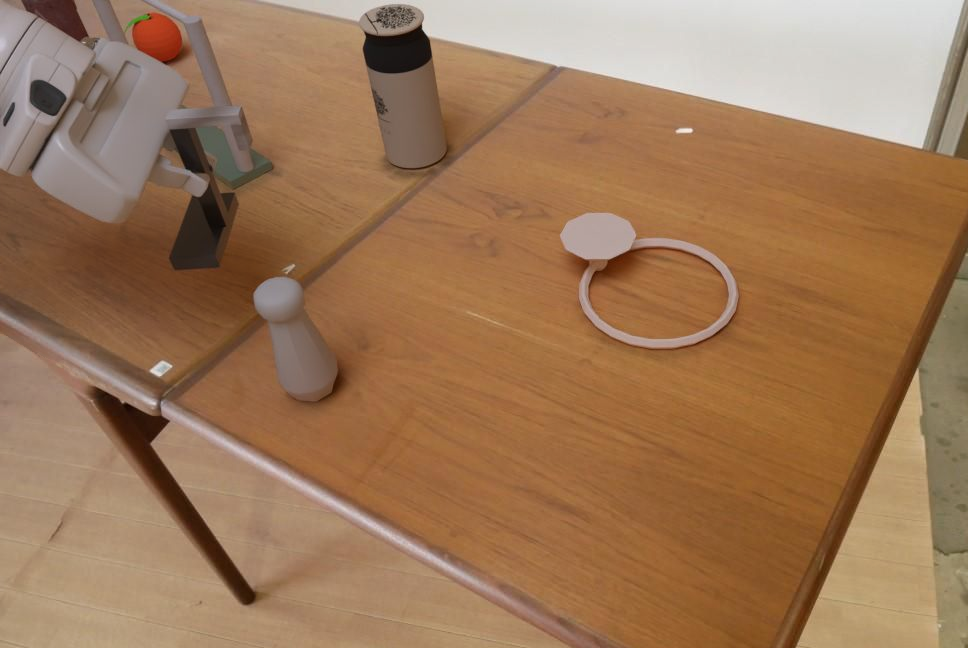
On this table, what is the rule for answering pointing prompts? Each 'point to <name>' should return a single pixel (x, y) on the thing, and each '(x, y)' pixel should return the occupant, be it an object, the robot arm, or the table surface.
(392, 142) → the travel mug
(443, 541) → the table surface
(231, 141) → the rack
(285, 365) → the salt shaker
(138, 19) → the clementine
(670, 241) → the hand towel holder
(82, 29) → the can
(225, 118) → the hanger
